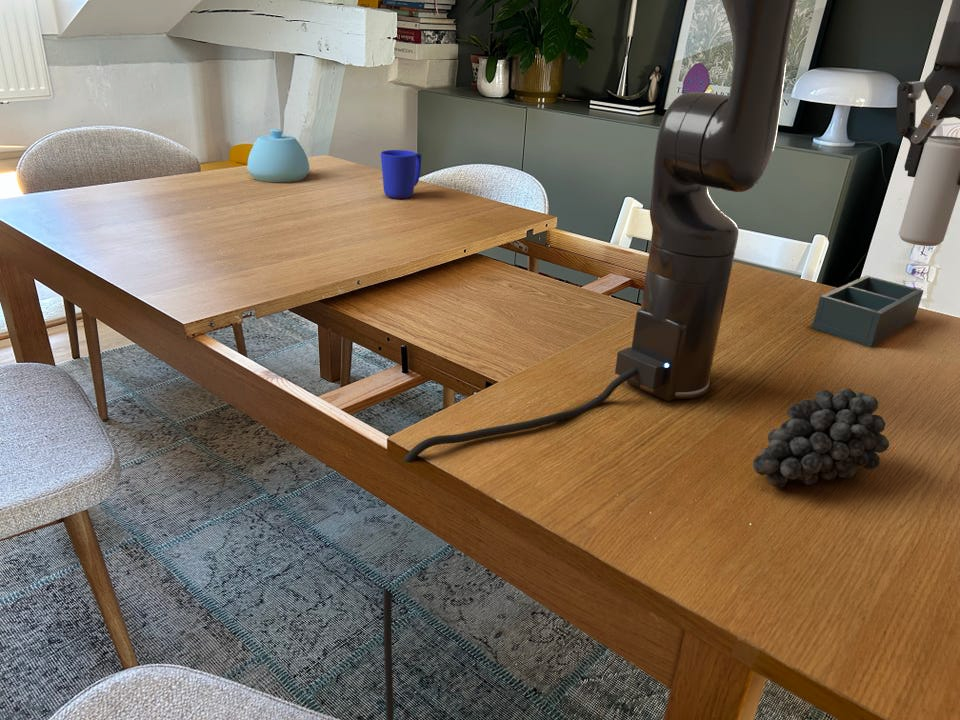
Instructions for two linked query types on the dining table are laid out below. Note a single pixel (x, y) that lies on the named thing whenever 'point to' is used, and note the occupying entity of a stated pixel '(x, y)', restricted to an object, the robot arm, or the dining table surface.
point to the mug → (400, 172)
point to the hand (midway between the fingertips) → (938, 179)
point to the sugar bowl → (277, 158)
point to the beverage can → (933, 192)
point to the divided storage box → (867, 310)
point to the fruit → (824, 439)
